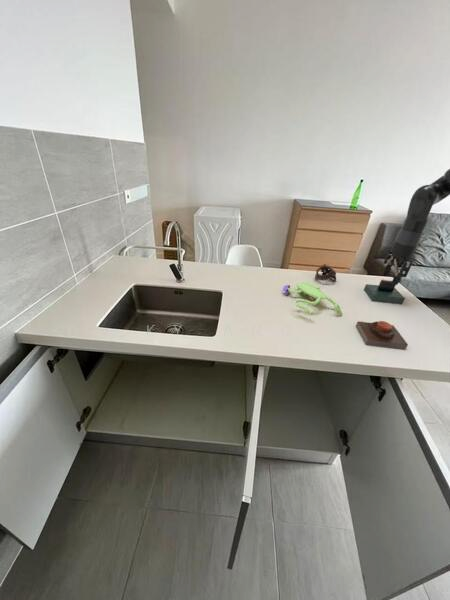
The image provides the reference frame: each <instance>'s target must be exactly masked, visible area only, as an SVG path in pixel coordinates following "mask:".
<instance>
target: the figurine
mask: <svg viewBox="0 0 450 600" xmlns="http://www.w3.org/2000/svg"><path fill="white" fill-rule="evenodd" d="M296 287H297V289H298V290H297V289H296V290H295V289H291V285H289V284H286V285H283V287H282V293H283V294H284V295H285V296H289V295H290V293H292V294H301V293H303V296H306V295H308V296H309V299H310V300H311V301H310V300H308V299H305V298H297V299H295V305H296V308H297V307H298V308H299V309H303V310H305V311H306V312H307V313H309V314H310V315H311V316H312V315H314V312H313V310H312V309H311V308H310V307H308V306H306V305H304V304H307V305H312V306H313V305H314V306H315V305H317V304H319V302H320V301H321V300H326V301H329V302H330V304H332V305H333V308H334V310H335V311H336V312H337V313H338V315H339V316H343V312H342V310H341V307H340V305H339V304H338V303H337V302H336V301H335V300H334V299H333V298H331V297H329V296H328V295H326V294H325V293H324V292H323V291H321V290H320V289H321V286H316V285H314V284H311V283H310V282H309V283H308V282H307V281H303V282H298V283H296ZM313 298H315V299H316V300H315V301H313V300H314V299H313ZM299 303H304V304H303V305H302V304H299Z"/></svg>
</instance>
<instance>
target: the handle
mask: <svg viewBox="0 0 450 600" xmlns="http://www.w3.org/2000/svg"><path fill="white" fill-rule="evenodd" d="M391 282H392V280H388V279H381V280H380V283H379V284H378V285H379V286H378V290H379V291H384V292H393V290H394V288H396V286H397V285H393V284H391Z"/></svg>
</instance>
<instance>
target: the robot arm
mask: <svg viewBox="0 0 450 600" xmlns="http://www.w3.org/2000/svg"><path fill="white" fill-rule="evenodd" d="M449 196H450V168H448V169H447V170H446V171H445V172H444V174H443V175H442V176H440V177H439V178H438V179H436V180H435V181H433V182H432V183H430V184H424V185H421V186H420V187H419V188H417V189H416V190H415V191H414V193H413V194H412V195H411V198H410V200H409V203H408V208H407V213H406V217H405V219H404V221H403V224H402V225H401V228H400V229H399V231H398V233H397V235H396V237H395V240H394V242H393V245H392V247H391V249H390V250H388V252H387V254H386V256H385V258H384V261H383V264H384V269H383V272H382V273H381V274H382V276H384V277H388V276H389V275H390V273H391V271H392V268H393V271H394V276H393V278H392V280H391V281H392V282H391V284H393V285H396V286H398V284H399V283H400V281H401V279H402V278H407V276H408V274H409V272H410V269H411V268H412V265H413V262H412V261H408V259H409V258H410V257H413V256H414V255H415V252H416V250H417V249H418V246H419V244H420V242H421V240H422V238H423V234H424V232H425V230H426V228H427V226H428V223H429V221H430V216H429V215H430V213H431V210H432V209H433V206H434V205H436V204H438V203H440V202H441V201H443V200H444V199H446V198H447V197H449Z"/></svg>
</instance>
